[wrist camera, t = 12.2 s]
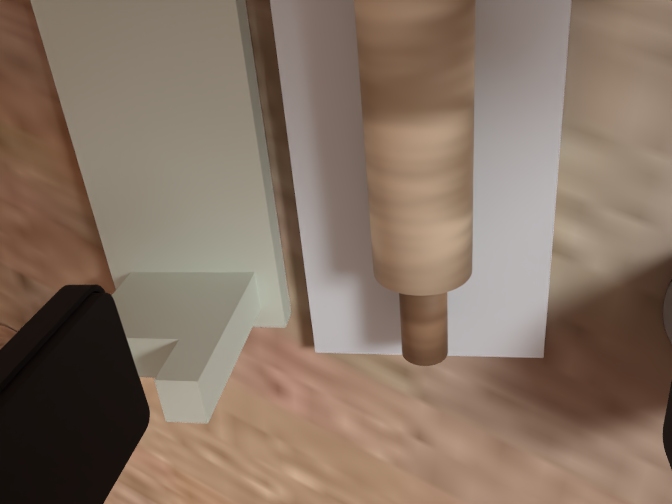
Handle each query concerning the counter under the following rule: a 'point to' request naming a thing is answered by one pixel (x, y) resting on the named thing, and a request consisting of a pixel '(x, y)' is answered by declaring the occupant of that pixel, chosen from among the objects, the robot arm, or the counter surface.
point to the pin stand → (173, 180)
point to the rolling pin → (419, 157)
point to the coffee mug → (668, 312)
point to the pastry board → (488, 177)
